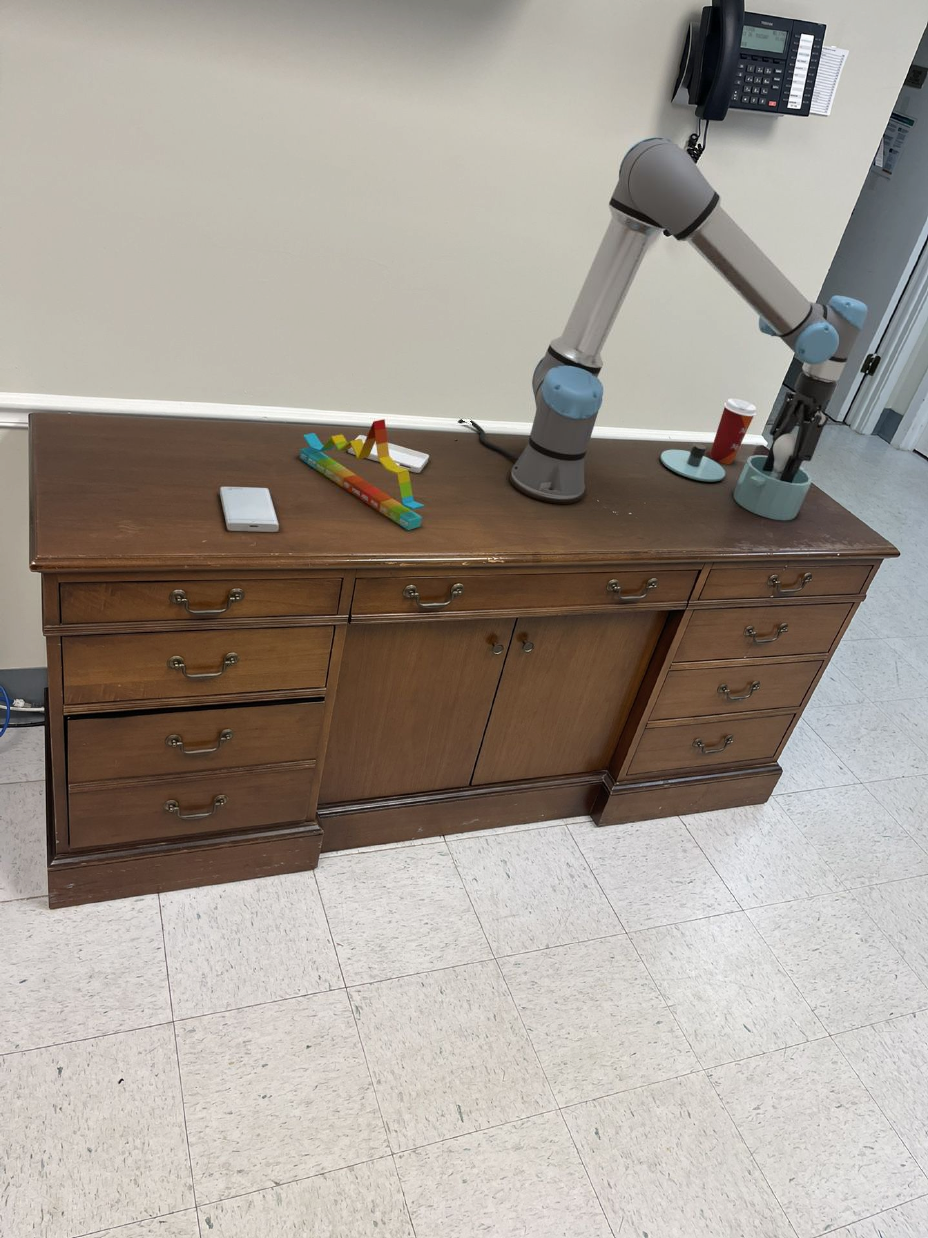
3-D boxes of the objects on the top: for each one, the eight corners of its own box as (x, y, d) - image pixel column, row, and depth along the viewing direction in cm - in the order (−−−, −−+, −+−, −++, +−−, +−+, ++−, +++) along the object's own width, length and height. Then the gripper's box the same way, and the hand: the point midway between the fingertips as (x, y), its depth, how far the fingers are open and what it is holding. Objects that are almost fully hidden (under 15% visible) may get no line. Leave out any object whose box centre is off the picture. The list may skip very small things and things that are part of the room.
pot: (714, 497, 200) (728, 461, 196) (760, 483, 213) (774, 449, 208) (768, 527, 192) (784, 491, 188) (813, 511, 205) (829, 477, 200)
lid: (646, 459, 211) (654, 436, 208) (684, 450, 221) (692, 428, 218) (699, 488, 203) (708, 465, 200) (735, 478, 212) (744, 455, 209)
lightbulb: (758, 481, 198) (778, 434, 192) (761, 472, 203) (781, 425, 197) (787, 491, 196) (808, 443, 190) (790, 481, 201) (810, 435, 195)
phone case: (428, 460, 186) (359, 440, 187) (429, 454, 185) (360, 434, 186) (418, 474, 179) (346, 452, 181) (419, 467, 179) (347, 446, 180)
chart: (298, 458, 174) (306, 383, 166) (311, 455, 176) (320, 381, 168) (406, 530, 159) (421, 451, 151) (419, 526, 161) (435, 448, 153)
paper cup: (737, 468, 218) (759, 413, 210) (705, 460, 218) (726, 404, 211) (735, 456, 224) (756, 402, 217) (705, 448, 225) (725, 394, 217)
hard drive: (220, 485, 156) (227, 522, 146) (268, 487, 159) (279, 523, 149) (219, 494, 157) (227, 531, 147) (268, 496, 160) (278, 532, 150)
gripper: (860, 396, 180) (813, 500, 192) (810, 361, 195) (769, 460, 208) (828, 391, 178) (782, 497, 190) (780, 357, 193) (741, 456, 206)
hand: (776, 477), depth 199 cm, fingers closed on lightbulb, 6 cm apart
